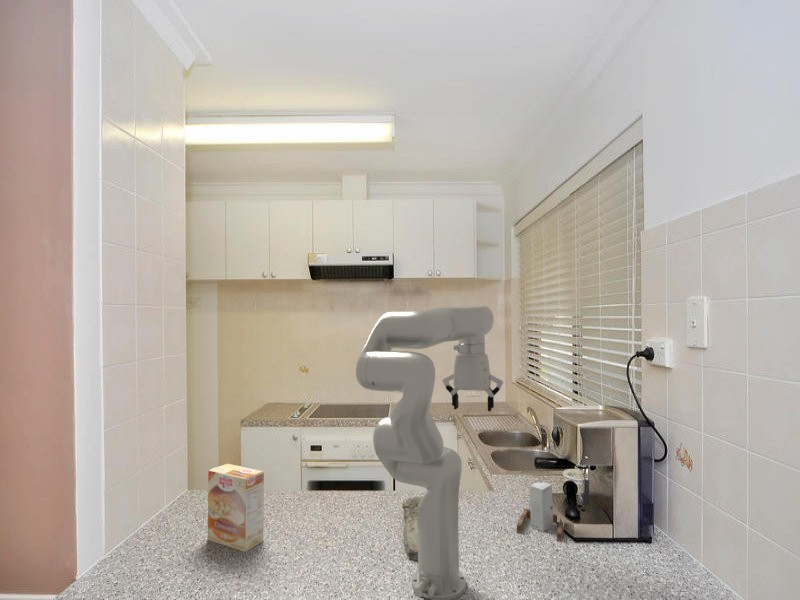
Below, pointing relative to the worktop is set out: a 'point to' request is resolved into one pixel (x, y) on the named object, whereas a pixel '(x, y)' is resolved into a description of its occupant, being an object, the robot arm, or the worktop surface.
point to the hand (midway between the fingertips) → (472, 409)
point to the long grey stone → (411, 527)
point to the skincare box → (541, 506)
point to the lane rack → (527, 513)
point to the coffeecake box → (235, 506)
